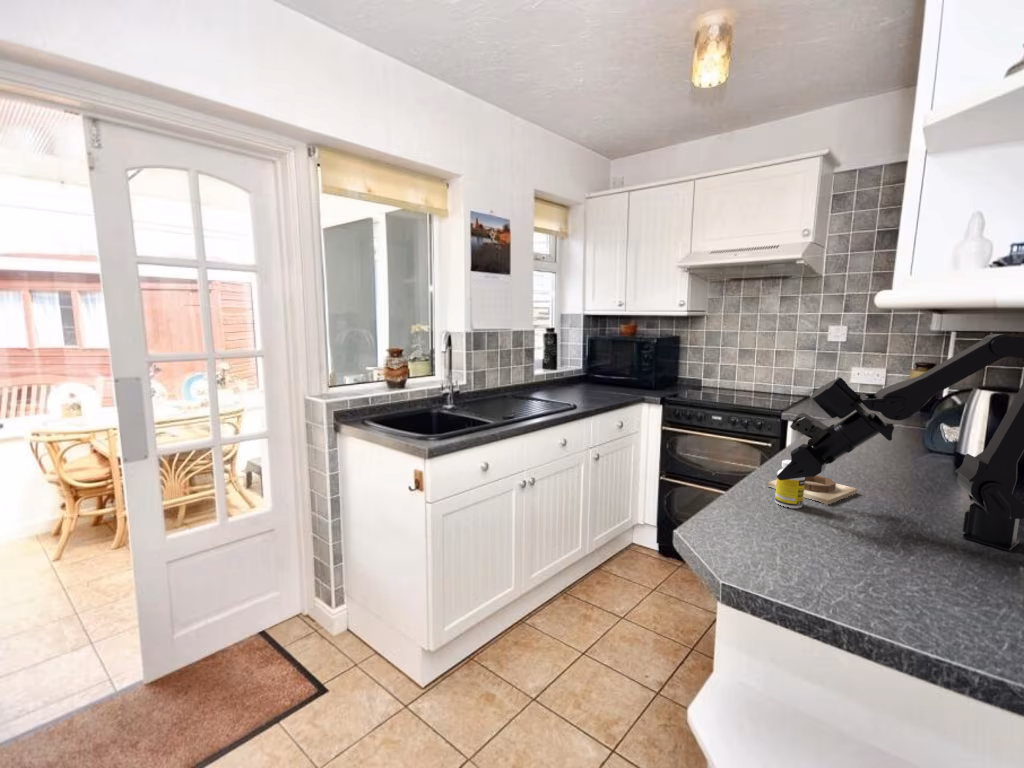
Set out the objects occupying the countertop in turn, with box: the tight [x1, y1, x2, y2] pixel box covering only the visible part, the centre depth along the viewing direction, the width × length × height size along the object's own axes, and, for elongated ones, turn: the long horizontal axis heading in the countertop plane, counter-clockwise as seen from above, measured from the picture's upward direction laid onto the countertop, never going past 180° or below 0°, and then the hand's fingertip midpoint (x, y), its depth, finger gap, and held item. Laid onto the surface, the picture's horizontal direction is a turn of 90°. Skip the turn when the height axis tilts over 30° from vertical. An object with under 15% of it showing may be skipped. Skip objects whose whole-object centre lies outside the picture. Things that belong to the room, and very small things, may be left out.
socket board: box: [766, 474, 858, 505], centre depth 118 cm, size 14×14×3 cm
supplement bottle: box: [774, 459, 805, 509], centre depth 109 cm, size 5×5×10 cm
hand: (784, 473), depth 109 cm, fingers open, 9 cm apart
